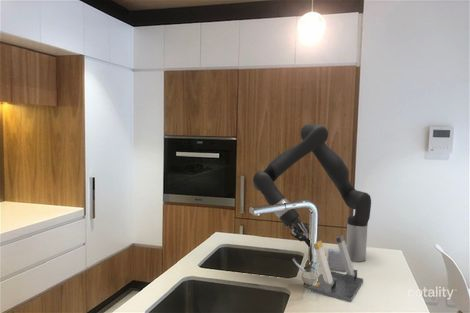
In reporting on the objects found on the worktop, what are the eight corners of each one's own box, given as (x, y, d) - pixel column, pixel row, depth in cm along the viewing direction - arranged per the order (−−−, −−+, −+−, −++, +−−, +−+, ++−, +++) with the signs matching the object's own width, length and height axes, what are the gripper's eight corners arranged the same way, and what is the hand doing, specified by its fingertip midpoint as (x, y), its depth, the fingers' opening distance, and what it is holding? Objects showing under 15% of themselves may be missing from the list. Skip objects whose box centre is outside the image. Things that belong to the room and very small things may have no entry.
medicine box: (345, 268, 161) (346, 249, 160) (346, 272, 157) (347, 253, 156) (327, 266, 163) (328, 247, 163) (327, 269, 159) (328, 251, 158)
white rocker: (329, 285, 140) (316, 241, 142) (335, 284, 139) (321, 240, 140) (326, 289, 136) (312, 244, 138) (331, 289, 135) (318, 243, 137)
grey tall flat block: (351, 276, 148) (338, 235, 150) (356, 276, 147) (343, 234, 149) (348, 280, 144) (335, 238, 146) (353, 280, 143) (340, 237, 145)
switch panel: (325, 273, 155) (325, 263, 155) (363, 282, 147) (363, 271, 147) (309, 290, 138) (309, 279, 138) (350, 302, 130) (351, 290, 130)
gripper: (285, 209, 138) (314, 246, 133) (298, 203, 149) (325, 237, 144) (272, 221, 141) (300, 257, 136) (286, 214, 153) (312, 247, 147)
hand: (313, 247), depth 140 cm, fingers closed
